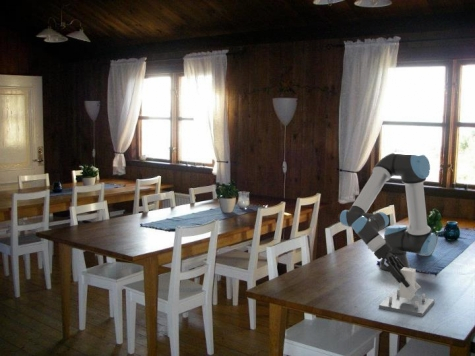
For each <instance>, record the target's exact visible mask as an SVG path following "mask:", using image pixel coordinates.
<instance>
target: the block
mask: <svg viewBox="0 0 475 356" xmlns="http://www.w3.org/2000/svg"><path fill="white" fill-rule="evenodd" d="M416 270H417V269H416V268H411V267H409V268H406V267H404V268H402V269H401V273H402V274H403V276H404V277H405V279H406V278H407V279H408V280H409V282H410V283H411V284H412V285H413V286H414V288H415V281H416V275H417V274H416V272H417V271H416ZM399 290H400V296H399V297H401V298H406V299H412V298H413V297H414V296H416V295H415V293H416V292H415V293H413V294H411V293H410V292H409V291H408V290H407V288H406V287H405V286H404V285H403V284H402V282H401V283H399Z"/></svg>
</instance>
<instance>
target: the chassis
mask: <svg viewBox="0 0 475 356" xmlns="http://www.w3.org/2000/svg"><path fill="white" fill-rule="evenodd" d="M399 296H400V288H398V289H396V292H395V291H393V292H392V293H390V295H389V296H387V297H386V298H385V299H384V300H383V301H382V302H380V304H378V309H380V310H386V311H389V312H395V313H399V314H405V315H409V316H414V317H419V318H423V317H424V316H425V314H426V313H428V311H429V310H430V309H431V308H432V306H434V304H435V299H433V298H429V297H428V298H427V297H426V294H425V293H422V296H417V295H415V296H414V297H413V298H412V299H406V298H401V297H399Z"/></svg>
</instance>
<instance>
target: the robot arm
mask: <svg viewBox="0 0 475 356" xmlns="http://www.w3.org/2000/svg"><path fill="white" fill-rule="evenodd" d="M371 171H372V174H371V175H370V177H369V178H368V180H367V182H366V183H365V184H364V186H363V188H362V189H361V191H360V192H359V194H358V196H357V197H356V199H355V201H353V204H352V205H351V206H350V208H349V209H344V210H342V211H341V212H340V214H339V222H340V223H341V225H342V226H346V227H349V228H352V229H353V230H354V232H355V234H357V236H358V237H359V238H360V239H361V240H362V241H363V243H364V244H365V245H366V246H367V248H368V250H370V251H371V252H372V253H373V255H374V256H375V258H376V259H377V260H380V263H379V268H380V269H381V270H384V271H386V272H389V273H390V275H392V276H393V278H394V279H395V281H396V282H397V283H398V284H400V283H401V282H402V284H403V285H404V286H405V287H406V288H407V290H408V291H409V292H410V293H411V294H413V293H416V292H417V291H418V290H419V289H421V285H420V284H419V283H418V282H417V281H416V280H415V288H414V286H413V285H412V284H411V283H410V282H409V280H408V279H407V278H406V279H405V277H404V276H403V274H402V273H401V269H402V268H404V267H406V268H410V263H409V260H408V255H407V252H408V253H411V254H417V255H420V256H430V255H431V254H432V253H433V252H434V250H435V248H436V244H437V235H436V234H435V233H434V232H432V229H431V227H430V226H429V225H428V221H427V219H428V218H427V209H426V200H425V199H426V198H425V190H424V189H425V188H424V183H425V181H426V179H427V178H428V177H429V175H430V172H431V165H430V161H429V159H428V157H427V156H426V155H425V154H421V153H409V152H391V153H389V154H387V155H385V156H384V157H382V158H381V159H380V160H378V161H377V163H376V164H375V165H374V167H373V168H372V170H371ZM392 177H400V179H401V183H403V184H404V187H405V195H406V196H405V197H406V203H407V204H406V205H407V216H408V225H409V226H408V225H405V224H404V225H403V224H399V225H398V224H397V225H389V223H390V218H389V216H388V215H387V213H385V212H382V211H379V212H375V213H367V212H368V211H369V209H370V208H371V206H372V204H373V203H374V201H375V200H376V199H377V196H378V195H379V193H380V192H381V191H382V188H383V187H384V185H385V184H386V182H388V181H390V180H391V179H392ZM388 225H389V226H388ZM382 230H384V233H383V237H382V235H381V234H380V233H379V232H380V231H382Z"/></svg>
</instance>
